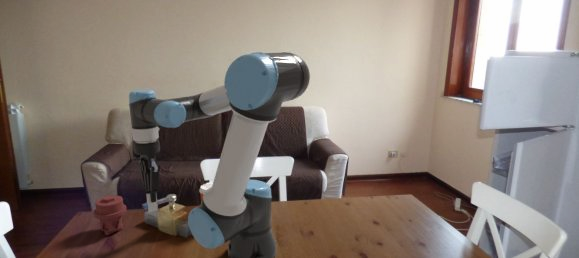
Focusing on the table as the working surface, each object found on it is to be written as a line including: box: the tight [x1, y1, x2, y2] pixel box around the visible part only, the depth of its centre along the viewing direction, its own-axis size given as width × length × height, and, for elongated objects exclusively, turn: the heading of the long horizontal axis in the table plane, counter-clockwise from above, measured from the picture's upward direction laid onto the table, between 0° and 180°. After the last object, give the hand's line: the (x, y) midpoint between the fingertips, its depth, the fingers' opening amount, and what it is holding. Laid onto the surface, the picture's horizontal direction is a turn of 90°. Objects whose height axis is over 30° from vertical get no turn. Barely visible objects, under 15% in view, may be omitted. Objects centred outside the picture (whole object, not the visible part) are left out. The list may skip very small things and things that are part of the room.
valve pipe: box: [143, 201, 192, 238], centre depth 128 cm, size 20×6×11 cm, turn 61°
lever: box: [141, 193, 177, 211], centre depth 122 cm, size 3×12×1 cm, turn 137°
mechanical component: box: [93, 194, 127, 236], centre depth 125 cm, size 12×10×10 cm
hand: (153, 210), depth 119 cm, fingers closed
